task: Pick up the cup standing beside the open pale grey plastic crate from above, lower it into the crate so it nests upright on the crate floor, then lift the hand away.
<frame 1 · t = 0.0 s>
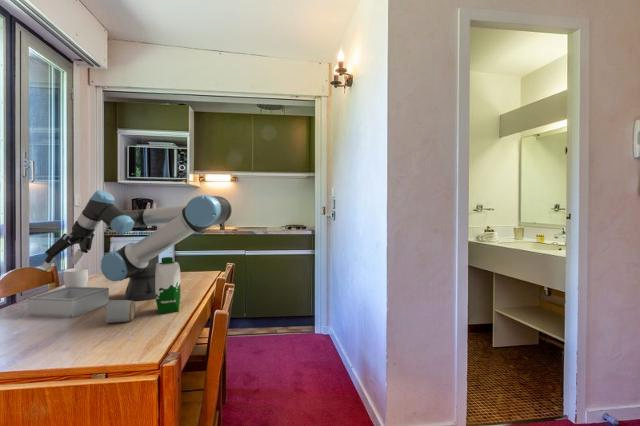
hand: (59, 265, 146), 15 cm above the table, tool tilted 35°, fingers open, 13 cm apart
crate: (70, 309, 136), on the table
milk carton: (168, 310, 135), on the table
cup: (76, 297, 154), on the table
grey cylinder: (120, 321, 123), on the table
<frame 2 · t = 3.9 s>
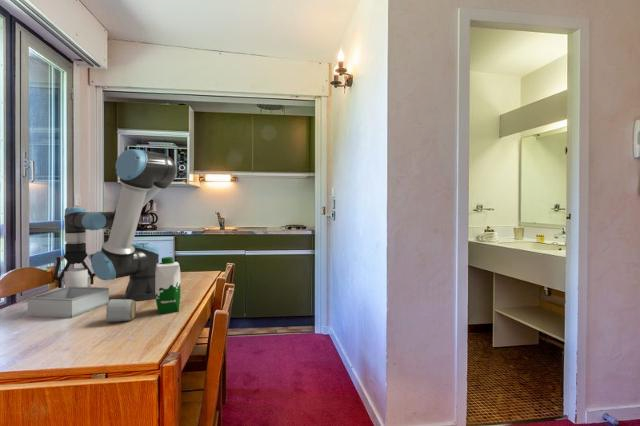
hand: (76, 293, 154), 1 cm above the table, tool pointing down, fingers closed on cup, 9 cm apart
cup: (76, 297, 154), on the table, touching gripper
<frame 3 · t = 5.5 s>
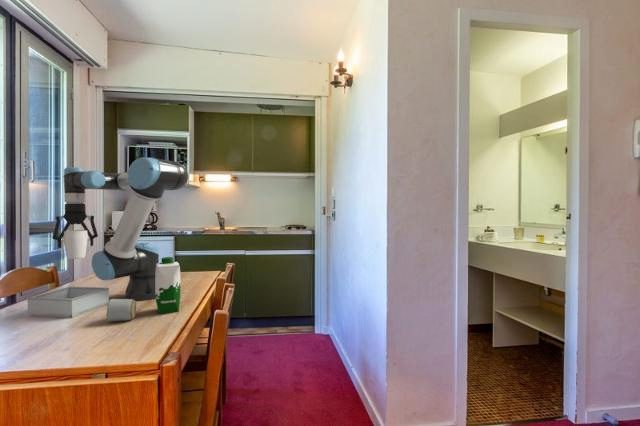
hand: (76, 254, 154), 19 cm above the table, tool pointing down, fingers closed on cup, 9 cm apart
cup: (76, 258, 154), point 17 cm above the table, touching gripper
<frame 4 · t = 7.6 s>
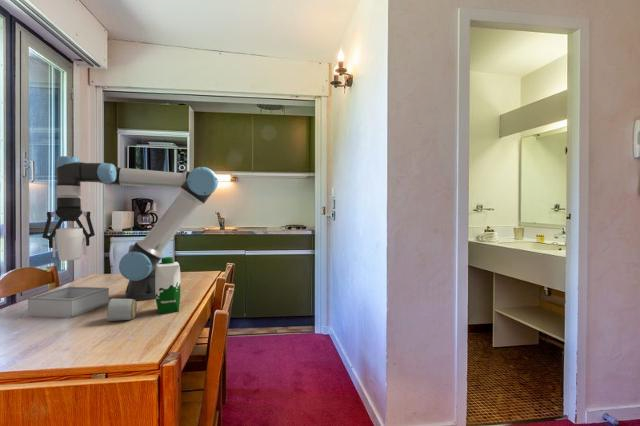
hand: (69, 255, 135), 21 cm above the table, tool pointing down, fingers closed on cup, 9 cm apart
cup: (69, 259, 135), point 19 cm above the table, touching gripper
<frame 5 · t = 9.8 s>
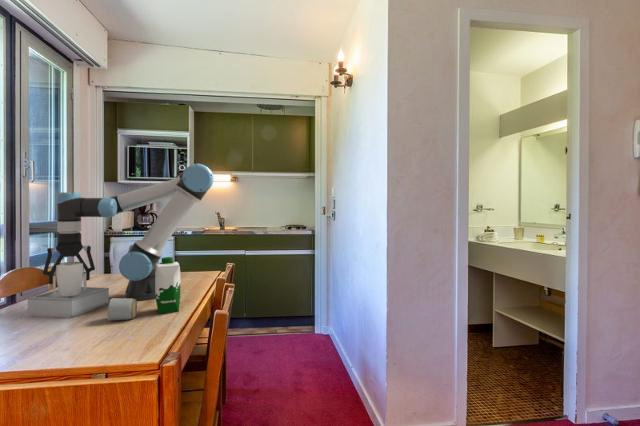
hand: (70, 290, 135), 7 cm above the table, tool pointing down, fingers closed on cup, 9 cm apart
cup: (70, 294, 135), point 6 cm above the table, touching gripper
when the fingers open (4 cm above the table, at t = 11.4 s): cup drops 2 cm, resting on crate.
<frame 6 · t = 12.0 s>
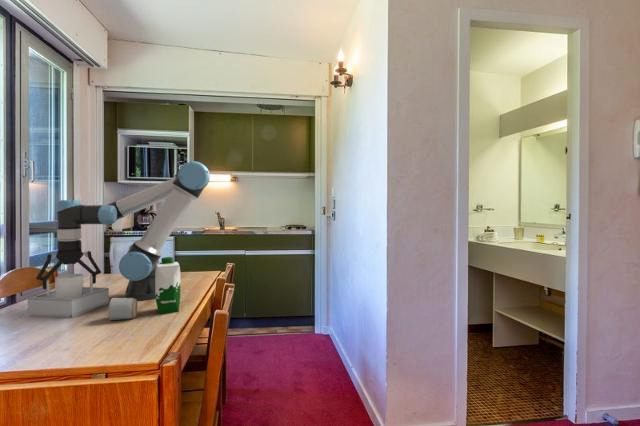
hand: (70, 294, 135), 6 cm above the table, tool pointing down, fingers open, 13 cm apart
cup: (69, 307, 135), point 1 cm above the table, touching crate
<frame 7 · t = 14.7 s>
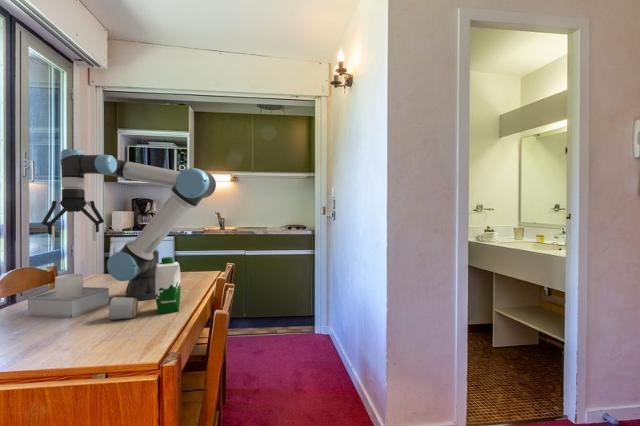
hand: (74, 241, 140), 26 cm above the table, tool pointing down, fingers open, 13 cm apart
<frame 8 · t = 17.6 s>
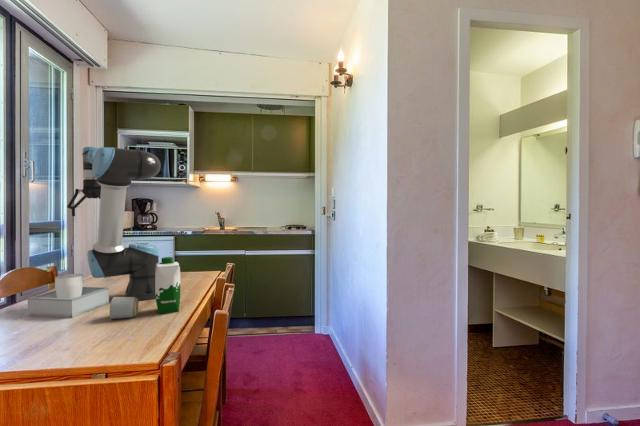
hand: (92, 222, 171), 32 cm above the table, tool pointing down, fingers open, 13 cm apart
at the end: cup inside the target area on the crate (0.3 cm from its centre), point 0.8 cm above the crate's base; cup tilted 0°; the gripper is holding nothing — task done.
